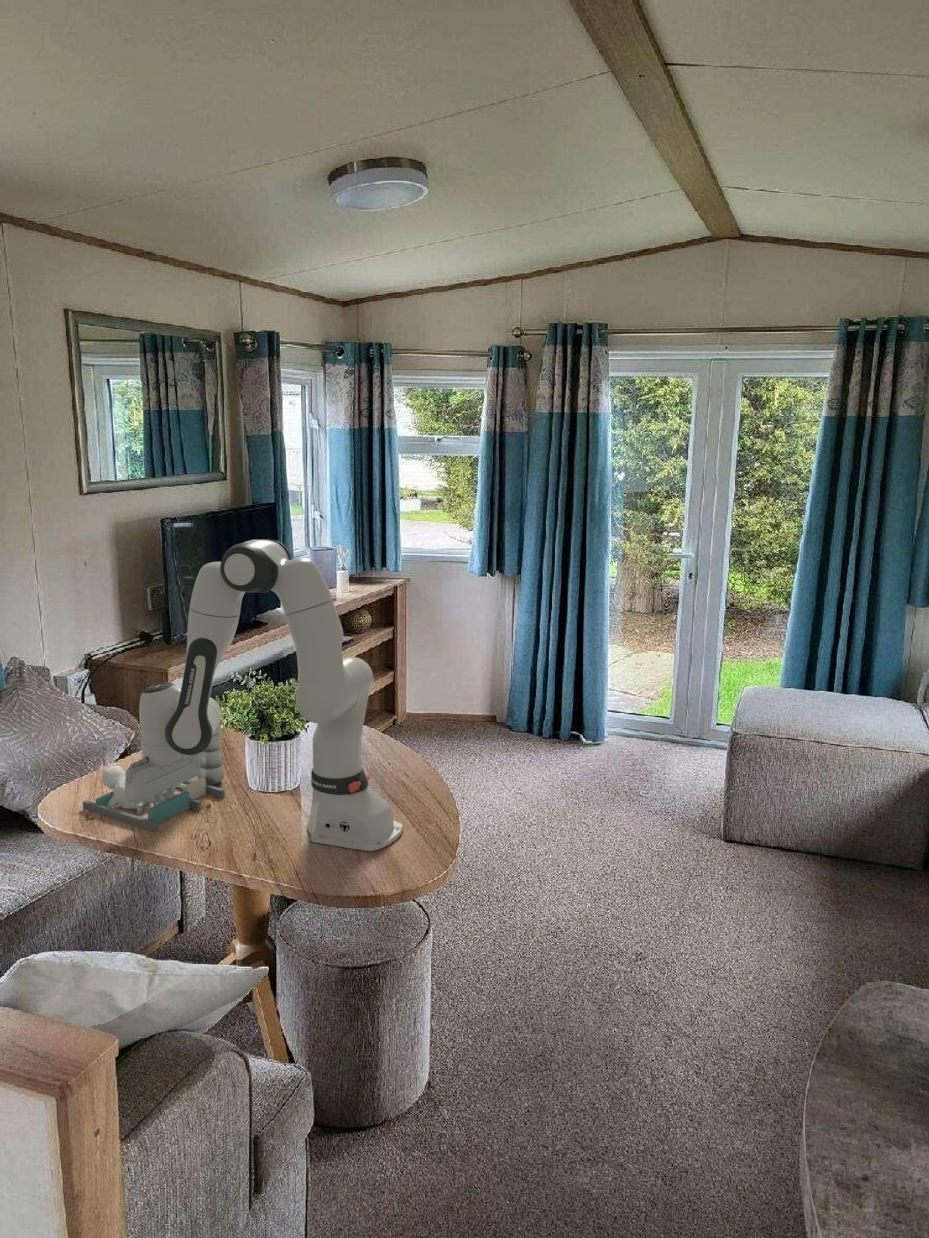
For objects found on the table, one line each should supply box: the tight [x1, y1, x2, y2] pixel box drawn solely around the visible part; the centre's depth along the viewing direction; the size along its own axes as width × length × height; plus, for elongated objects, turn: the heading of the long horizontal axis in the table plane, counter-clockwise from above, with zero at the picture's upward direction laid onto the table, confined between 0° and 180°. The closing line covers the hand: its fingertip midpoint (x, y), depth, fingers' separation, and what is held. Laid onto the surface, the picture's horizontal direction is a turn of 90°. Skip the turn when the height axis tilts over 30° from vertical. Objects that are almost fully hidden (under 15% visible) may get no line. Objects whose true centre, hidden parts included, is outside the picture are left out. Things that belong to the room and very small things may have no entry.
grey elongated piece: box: [175, 778, 207, 800], centre depth 219 cm, size 19×6×4 cm, turn 62°
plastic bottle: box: [197, 726, 225, 786], centre depth 223 cm, size 6×7×20 cm
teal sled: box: [94, 790, 191, 824], centre depth 209 cm, size 19×12×4 cm, turn 62°
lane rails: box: [82, 779, 226, 833], centre depth 213 cm, size 24×22×2 cm
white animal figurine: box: [101, 765, 158, 815], centre depth 211 cm, size 9×8×15 cm
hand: (165, 806), depth 205 cm, fingers closed, pressing on teal sled
